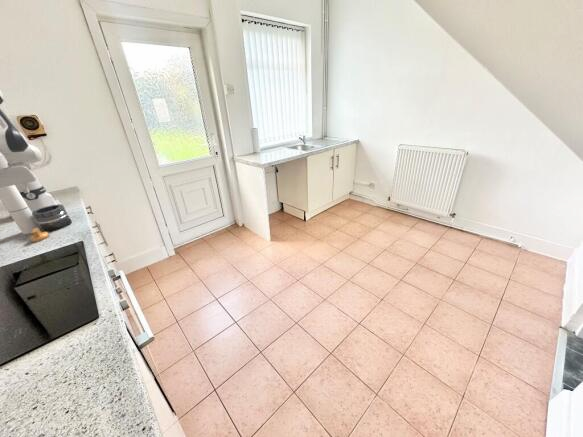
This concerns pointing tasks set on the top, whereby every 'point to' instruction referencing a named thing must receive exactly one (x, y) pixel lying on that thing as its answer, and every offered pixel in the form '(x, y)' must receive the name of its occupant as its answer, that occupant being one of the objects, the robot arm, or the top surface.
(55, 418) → the top surface
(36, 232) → the cap
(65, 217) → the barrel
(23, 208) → the cylindrical container
